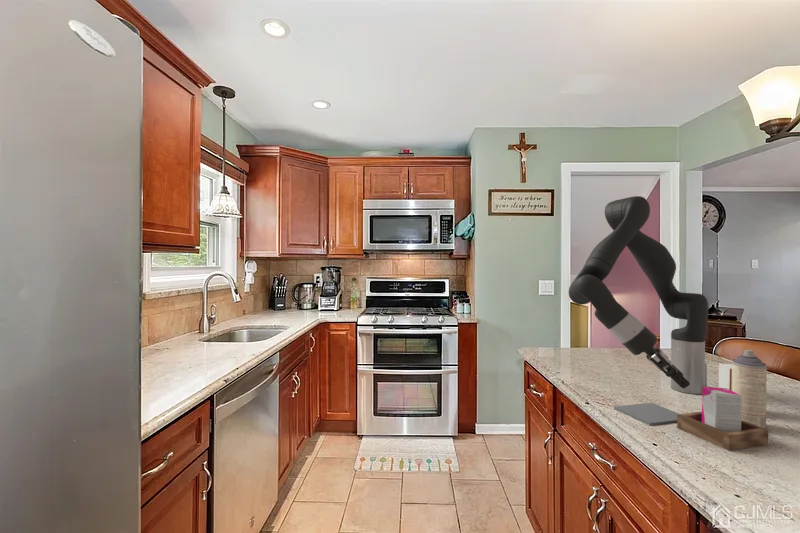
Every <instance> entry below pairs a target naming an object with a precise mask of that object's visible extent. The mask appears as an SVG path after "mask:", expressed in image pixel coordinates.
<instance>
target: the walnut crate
mask: <svg viewBox="0 0 800 533" xmlns="http://www.w3.org/2000/svg"><path fill="white" fill-rule="evenodd" d="M676 427H677V428H676V429H678V430H682V431H684V432H685V433H688V434H691V435H692V436H695V437H698V438H700V439H702V440H704V441H706V442H709V443H711V444H712V445H715V446H718V447H720V448H722V449H724V450H727V451H736V450H744V449H748V448H753V447H754V448H755V447H761V446H767V445H769V429H767V428H766V429H765V428H762V427H759V426H756V425H753V424H751V423H748V422H745V421H742V420H741V431H736V432H729V433H727V432H725V431H722V430H720V429H717V428H715V427H712V426H710V425H707V424H705V423H702V411H697V412H696V411H695V412H686V413H679V414H677V422H676Z"/></svg>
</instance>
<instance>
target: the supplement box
mask: <svg viewBox="0 0 800 533" xmlns="http://www.w3.org/2000/svg"><path fill="white" fill-rule="evenodd" d="M701 396H702V398H701V400H702V401H701V412H702V423H705V424H707V425H710V426H712V427H715V428H717V429H720V430H722V431H725V432H727V433H729V432H736V431H741V409H742V395H740V394H738V393H735V392H733V391H731V390H729V389H727V388H719V387H716V386H715V387H712V386H707V387H704V386H703V389H702V394H701Z"/></svg>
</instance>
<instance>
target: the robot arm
mask: <svg viewBox="0 0 800 533" xmlns="http://www.w3.org/2000/svg"><path fill="white" fill-rule="evenodd" d="M650 213H651V207H650V202H649V201H648V200H647V198H645V197H644V196H641V195H640V196H639V195H636V196H630V197H625V198H619V199H616V200H613V201H612V200H611V201H610V202H608V203H607V204H606V206H605V207H604V217H605V220H606V222H607V224H608V225H609V226H610V228H611V229H612V232H610V233H609V234H608V235H607V236H606V237H604V238H603V239H601V241H599V242H598V243H597V244H596V246H595V247H594V248H593V249H592V251H591V252H590V254H589V256H588V258H587V260H585V264H584V265H583V267H582V269H581V270H580V271H579V272H578V274H577V276H576V277H574V279H573V281H572V282H571V284H570V286H569V288H568V296H569V299H570V301H572V303H575V304H576V305H581V306H582V305H587V304H589V303H591V305H593V307H594V309H595V310H594V316H595V318H596V319H597V320H598V321H599V322H600V323H601V324H602V325H603V326H604V327H605V328H606V329H608V331H609V332H610V333H611V334H612V335H613V336H614V337H615V338H616V339H617V341H618V342H620V344H622V345H623V346H624V347H625V348H626V349H627V350H628V351H629V352H630V353H631V354H632V355H634V356H639V355H641V354H642V353H644V354H645V357H646V359H647V361H649V362H650V363H651V364H653V365H654V366H655V368H657V369H658V370H659V371H661V372H662V373H663V374H664V375H665V376H666V377H668V378H670V388H671V389H672V390H675V391H677V392H681V393H686V394H694V395H702V389H703V386H704V387H708V385H707V383H708V382H707V381H708V380H707V378H708V375H707V372H708V371H707V368H708V366H707V365H708V364H707V362H706V335H707V331H708V320H709V302H708V298H707V297H706V296H705V295H704V294H702V293H694V292H693V293H692V292H680V291H679V290H678V289H677V288H676V286H675V284H674V282H673V280H674V278H675V274H676V272H677V265H676V261H675V259H674V257H673V256H672V254H671V253H670V251H669V250H668V248H667V247H666V246H665V245H664V244H662V243H661V242H659V241H657V240H656V239H655V238H652V237H651V236H648V235H647V234H645V233H643V232H642V231H641V229H642V228H643V226H644V225H645V224H646V222H648V219H649V218H650ZM626 247H627V249H628V251H629V252H630V253H631V255H632V256H633V257H634V259H635V261H636V262H637V264H638V266H639V267H640V268H641V270H642V272H643V273H644V274H645V276H646V277H647V279H648V280H649V282H650V283H651V285H652V287H653V288H654V290H655V292H656V294H657V295H658V298H659V300H660V302H661V304H662V306H663V308H664V310H665V311H666V313H667V314H668V315H669V316H670V317H671V318H674V319H679V320H686V325H685V326H683V327H681V328H675V329H672V330H671V332H670V359H669V356H667V354H666V353H665V352H664V351H663V350H662V349H661V348H660V347H659V346H657V347H656V346H655V344H656V342H657V341H658V336H657V335H656V334H654V333H653V332H652V331H651V330H650V329H649V328H648V327H647V326H645V324H643V323H642V322H641V320H639V319H638V318H637V317H635V316H634V315H633V314H632V313H630V312H629V311H628V310H627V309H626V308H624V307H623V306H622V305H621V304H620V303H619V302H618V301H617V300H616V299H615V297H614V295H613V294H612V293H611V291H610V290H609V288H608V286H607V285H606V284H605V283H604V282H603V281H604V280H605V279H606V278H607V277H608V276H609V275H610V273H611V271H612V269H613V267H614V265H615V264H616V262H617V260H618V258H619V257H620V255H621V254H622V253H623V251H624V250H625V248H626Z"/></svg>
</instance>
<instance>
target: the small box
mask: <svg viewBox="0 0 800 533" xmlns="http://www.w3.org/2000/svg"><path fill="white" fill-rule="evenodd" d="M718 388H727V389H729V390H731V391H732V363H718Z"/></svg>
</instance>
